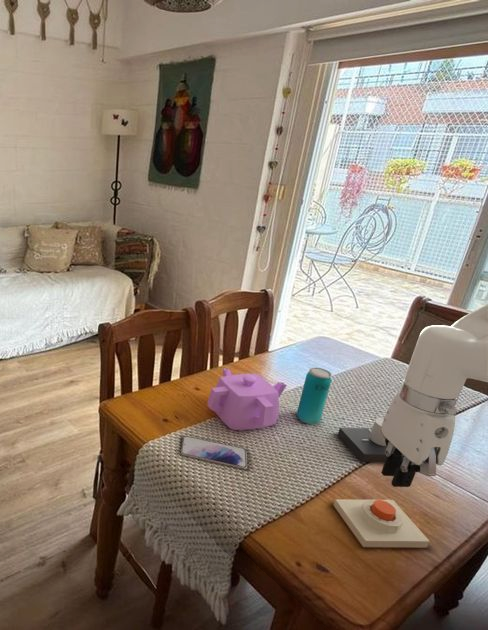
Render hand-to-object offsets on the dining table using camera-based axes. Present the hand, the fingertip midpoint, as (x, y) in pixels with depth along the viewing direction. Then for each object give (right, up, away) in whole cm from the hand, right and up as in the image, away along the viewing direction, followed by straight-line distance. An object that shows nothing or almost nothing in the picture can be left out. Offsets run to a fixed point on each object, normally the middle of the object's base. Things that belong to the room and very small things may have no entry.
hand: (395, 479), depth 82 cm
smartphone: (-26, -3, +24) cm, 36 cm away
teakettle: (-13, +3, +39) cm, 41 cm away
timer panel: (+15, -3, +26) cm, 30 cm away
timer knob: (+15, 0, +25) cm, 29 cm away
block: (0, -11, +5) cm, 12 cm away
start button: (0, -8, +3) cm, 9 cm away
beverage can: (+4, +2, +37) cm, 37 cm away
